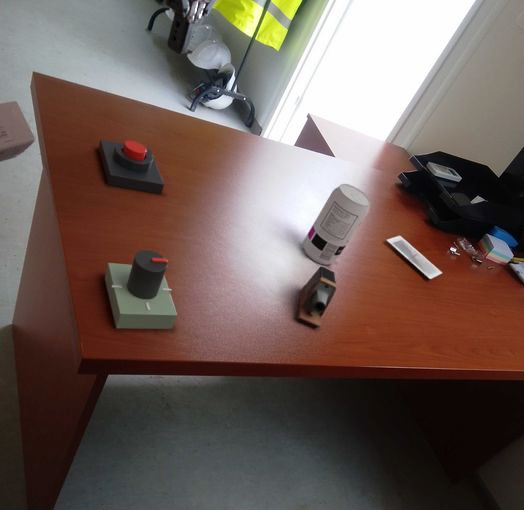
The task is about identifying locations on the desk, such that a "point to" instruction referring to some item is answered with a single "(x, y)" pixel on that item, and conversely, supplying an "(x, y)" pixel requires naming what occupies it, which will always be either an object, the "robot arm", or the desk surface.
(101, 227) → the desk surface
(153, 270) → the dial
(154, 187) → the button base
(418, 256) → the white grey flat block
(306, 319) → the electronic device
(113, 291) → the dial panel
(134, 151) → the button
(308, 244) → the supplement can
